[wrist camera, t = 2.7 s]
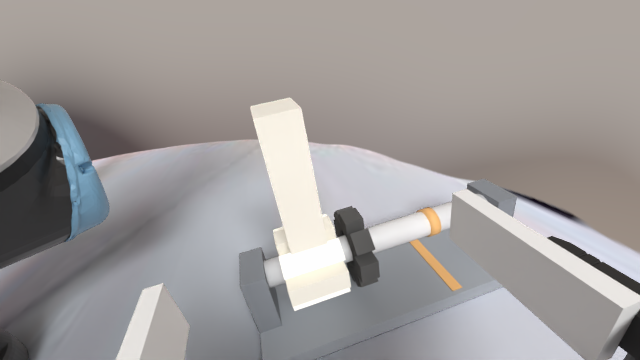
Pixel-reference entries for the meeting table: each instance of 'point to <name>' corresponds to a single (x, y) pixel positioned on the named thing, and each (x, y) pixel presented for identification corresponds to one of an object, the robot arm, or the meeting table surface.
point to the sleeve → (299, 208)
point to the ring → (358, 246)
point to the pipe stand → (372, 285)
